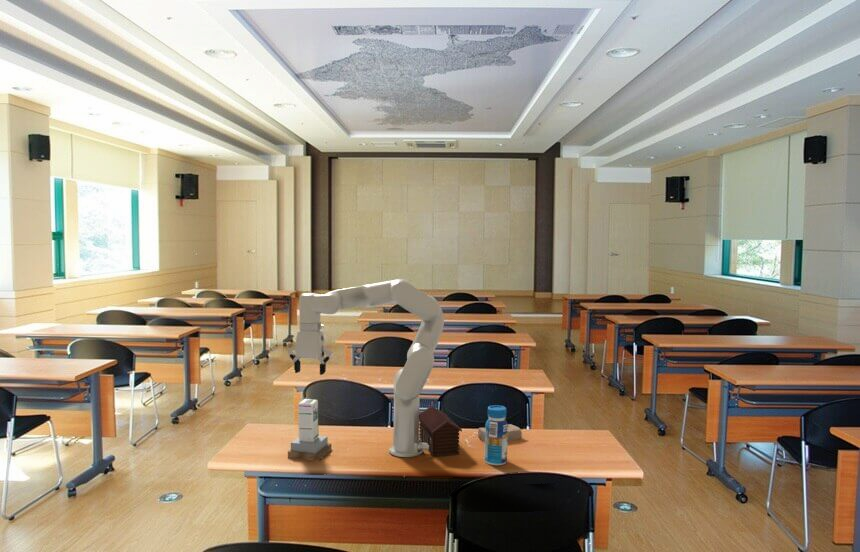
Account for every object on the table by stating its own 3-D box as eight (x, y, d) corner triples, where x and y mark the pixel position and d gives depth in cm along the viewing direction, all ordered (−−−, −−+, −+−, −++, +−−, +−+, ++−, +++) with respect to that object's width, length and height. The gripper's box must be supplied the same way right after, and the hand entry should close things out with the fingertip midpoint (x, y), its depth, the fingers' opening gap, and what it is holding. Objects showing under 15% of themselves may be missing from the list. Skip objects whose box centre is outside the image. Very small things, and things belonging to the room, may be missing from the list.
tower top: (327, 444, 231) (327, 436, 231) (315, 453, 222) (315, 445, 221) (303, 441, 234) (303, 433, 234) (290, 450, 224) (290, 442, 224)
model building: (417, 439, 245) (417, 402, 244) (444, 437, 248) (445, 400, 247) (431, 458, 225) (432, 418, 224) (461, 455, 229) (462, 415, 228)
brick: (510, 433, 255) (510, 422, 254) (522, 439, 247) (523, 428, 247) (476, 439, 247) (477, 427, 247) (488, 445, 240) (488, 434, 239)
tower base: (331, 451, 232) (331, 443, 232) (318, 462, 221) (318, 454, 220) (302, 448, 235) (302, 440, 235) (287, 459, 223) (287, 451, 223)
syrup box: (313, 442, 224) (313, 403, 223) (298, 441, 225) (297, 402, 224) (318, 437, 230) (318, 399, 228) (303, 435, 231) (303, 398, 229)
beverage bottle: (479, 459, 225) (481, 405, 223) (499, 456, 228) (501, 403, 227) (491, 467, 217) (492, 412, 216) (511, 464, 221) (513, 409, 219)
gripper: (336, 326, 226) (335, 372, 227) (292, 324, 230) (292, 369, 231) (328, 329, 219) (328, 377, 220) (283, 327, 222) (283, 373, 224)
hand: (309, 373), depth 225 cm, fingers open, 9 cm apart
